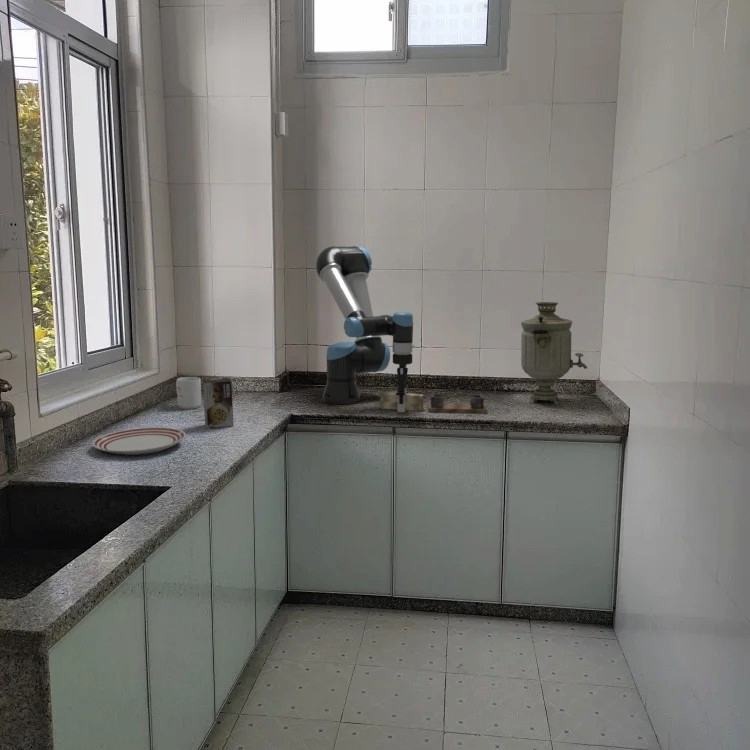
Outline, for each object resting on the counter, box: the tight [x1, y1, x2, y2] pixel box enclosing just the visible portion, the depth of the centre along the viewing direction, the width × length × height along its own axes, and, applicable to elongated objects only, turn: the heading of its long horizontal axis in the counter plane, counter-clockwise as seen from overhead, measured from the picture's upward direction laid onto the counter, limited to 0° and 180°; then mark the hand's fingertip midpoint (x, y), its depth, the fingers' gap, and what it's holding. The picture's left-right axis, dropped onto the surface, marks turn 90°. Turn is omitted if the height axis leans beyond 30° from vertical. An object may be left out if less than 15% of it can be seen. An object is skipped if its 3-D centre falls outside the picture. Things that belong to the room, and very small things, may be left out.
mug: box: [175, 376, 202, 410], centre depth 277 cm, size 12×9×11 cm
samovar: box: [520, 301, 588, 406], centre depth 286 cm, size 30×26×40 cm
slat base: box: [427, 393, 488, 415], centre depth 274 cm, size 22×10×6 cm, turn 85°
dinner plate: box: [91, 426, 187, 456], centre depth 221 cm, size 28×27×3 cm
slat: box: [380, 391, 424, 412], centre depth 276 cm, size 16×4×6 cm, turn 75°
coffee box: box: [202, 377, 234, 429], centre depth 247 cm, size 9×6×16 cm
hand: (401, 408), depth 276 cm, fingers open, 12 cm apart
